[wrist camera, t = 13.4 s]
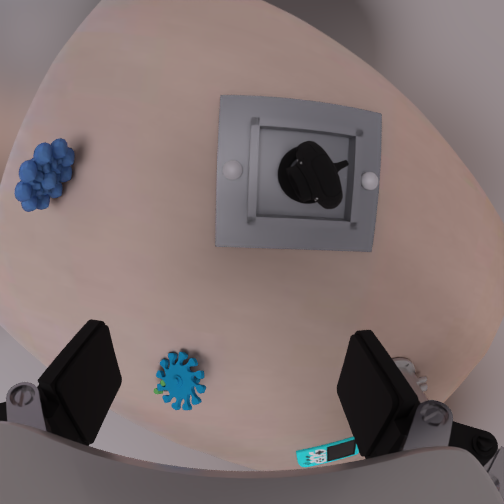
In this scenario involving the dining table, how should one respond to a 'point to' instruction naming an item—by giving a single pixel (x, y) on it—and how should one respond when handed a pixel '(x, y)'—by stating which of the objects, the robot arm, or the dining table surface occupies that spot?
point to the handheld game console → (327, 452)
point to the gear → (180, 381)
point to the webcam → (311, 176)
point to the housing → (269, 157)
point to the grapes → (44, 175)
